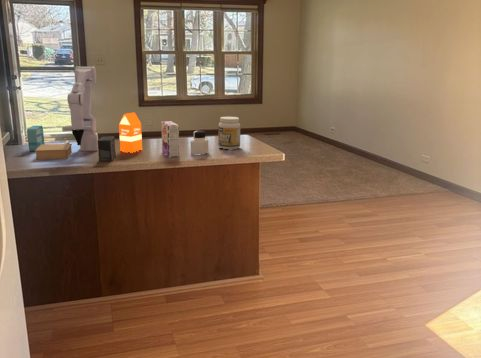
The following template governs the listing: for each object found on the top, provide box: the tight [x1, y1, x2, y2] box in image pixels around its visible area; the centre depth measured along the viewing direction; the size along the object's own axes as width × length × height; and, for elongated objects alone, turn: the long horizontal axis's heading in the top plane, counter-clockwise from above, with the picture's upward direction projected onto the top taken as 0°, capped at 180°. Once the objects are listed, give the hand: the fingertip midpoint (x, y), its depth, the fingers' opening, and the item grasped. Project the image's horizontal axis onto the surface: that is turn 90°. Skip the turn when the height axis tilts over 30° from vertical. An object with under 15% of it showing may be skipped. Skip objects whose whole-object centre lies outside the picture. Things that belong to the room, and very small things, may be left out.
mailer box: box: [35, 146, 73, 161], centre depth 224 cm, size 14×14×4 cm
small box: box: [97, 135, 117, 163], centre depth 219 cm, size 11×6×10 cm, turn 5°
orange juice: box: [118, 112, 143, 154], centre depth 237 cm, size 8×9×20 cm
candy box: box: [160, 120, 180, 158], centre depth 230 cm, size 14×6×16 cm, turn 23°
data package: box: [26, 125, 45, 152], centre depth 238 cm, size 12×4×12 cm, turn 7°
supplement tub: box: [217, 116, 241, 150], centre depth 248 cm, size 12×12×17 cm
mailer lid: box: [34, 140, 73, 153], centre depth 224 cm, size 15×15×3 cm
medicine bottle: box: [190, 130, 209, 156], centre depth 234 cm, size 7×7×12 cm
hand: (79, 144), depth 226 cm, fingers closed
